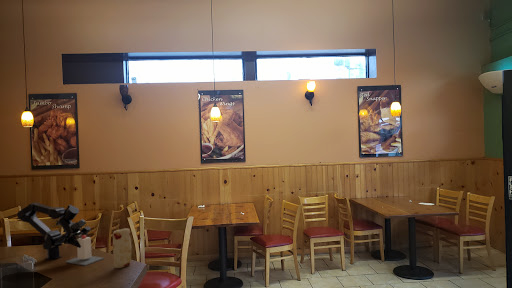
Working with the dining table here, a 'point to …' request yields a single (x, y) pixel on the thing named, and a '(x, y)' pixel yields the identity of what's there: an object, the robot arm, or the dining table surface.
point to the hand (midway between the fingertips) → (84, 246)
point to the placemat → (84, 260)
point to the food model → (122, 248)
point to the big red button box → (84, 247)
